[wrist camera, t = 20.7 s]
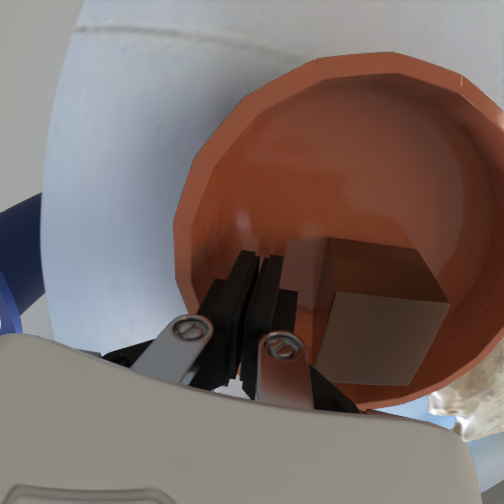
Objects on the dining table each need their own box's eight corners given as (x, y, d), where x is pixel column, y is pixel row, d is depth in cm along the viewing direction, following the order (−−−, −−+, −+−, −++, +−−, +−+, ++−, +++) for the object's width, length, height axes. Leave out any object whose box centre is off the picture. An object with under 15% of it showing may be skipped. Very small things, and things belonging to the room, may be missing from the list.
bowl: (208, 331, 18) (184, 385, 14) (219, 54, 11) (179, 33, 7) (437, 359, 16) (454, 411, 12) (519, 125, 9) (574, 139, 5)
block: (312, 315, 15) (310, 380, 11) (327, 236, 13) (334, 291, 9) (392, 323, 15) (408, 386, 11) (417, 249, 13) (451, 303, 9)
